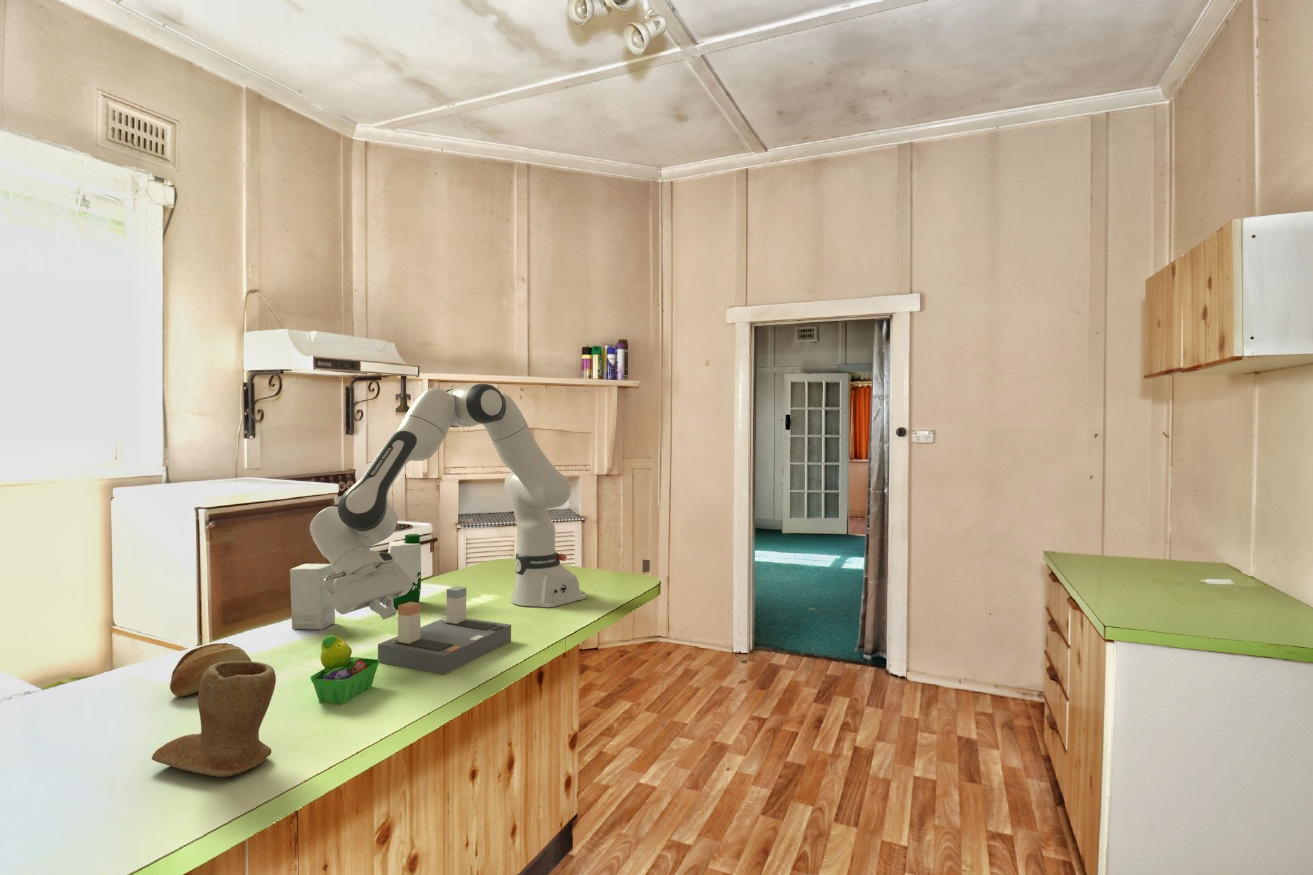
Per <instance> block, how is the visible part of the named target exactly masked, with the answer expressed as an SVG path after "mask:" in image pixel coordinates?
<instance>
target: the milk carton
mask: <svg viewBox="0 0 1313 875" xmlns="http://www.w3.org/2000/svg"><path fill="white" fill-rule="evenodd" d="M421 546H422V543H421V534H418V533H409V534H405V536H404V540H397V541H395V540H394V541H389V544H388V551H387V553H392V554H393V555H394V556H395V561H394V562H396V563H398V564H399V565H401V566H402V568H403V569H404V570H405V571H406V573H407V574H408V576H409V577H410V579H411V580H412V583H413V586H412V588H411V589H410V590H409V592H408V593H407V594H405V595H403V596H400V597H397V598H393V603H394V608H395V609H396V610H398V605H401V604H404V603H407V602H416V603H420V600H421V599H420V597H421V592H422V591H421V590H422V588H421V587H422V549H421V548H422V547H421Z"/></svg>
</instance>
